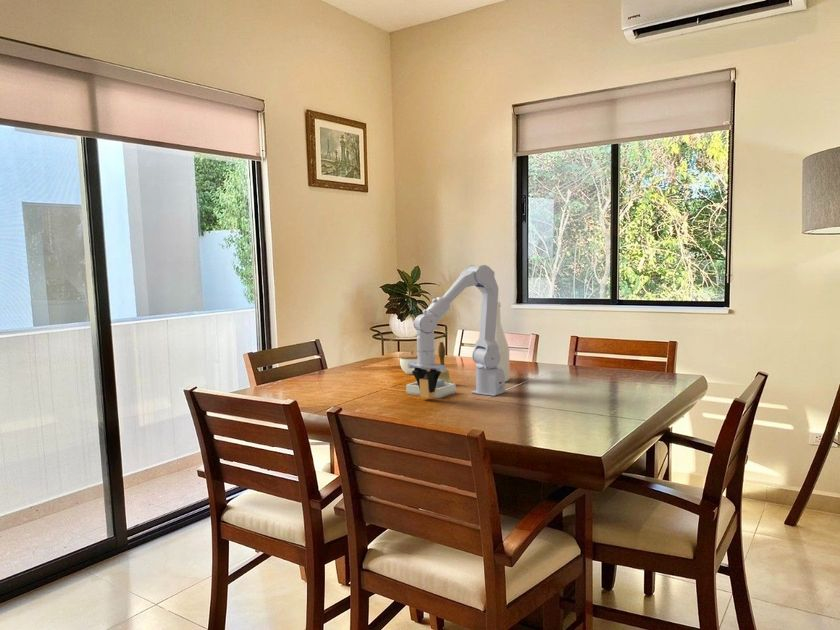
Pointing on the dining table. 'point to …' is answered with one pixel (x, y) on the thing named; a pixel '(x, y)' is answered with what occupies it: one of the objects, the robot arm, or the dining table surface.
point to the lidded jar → (408, 358)
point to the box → (440, 390)
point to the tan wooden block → (425, 388)
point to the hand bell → (444, 374)
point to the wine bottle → (502, 346)
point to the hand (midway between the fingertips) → (427, 391)
